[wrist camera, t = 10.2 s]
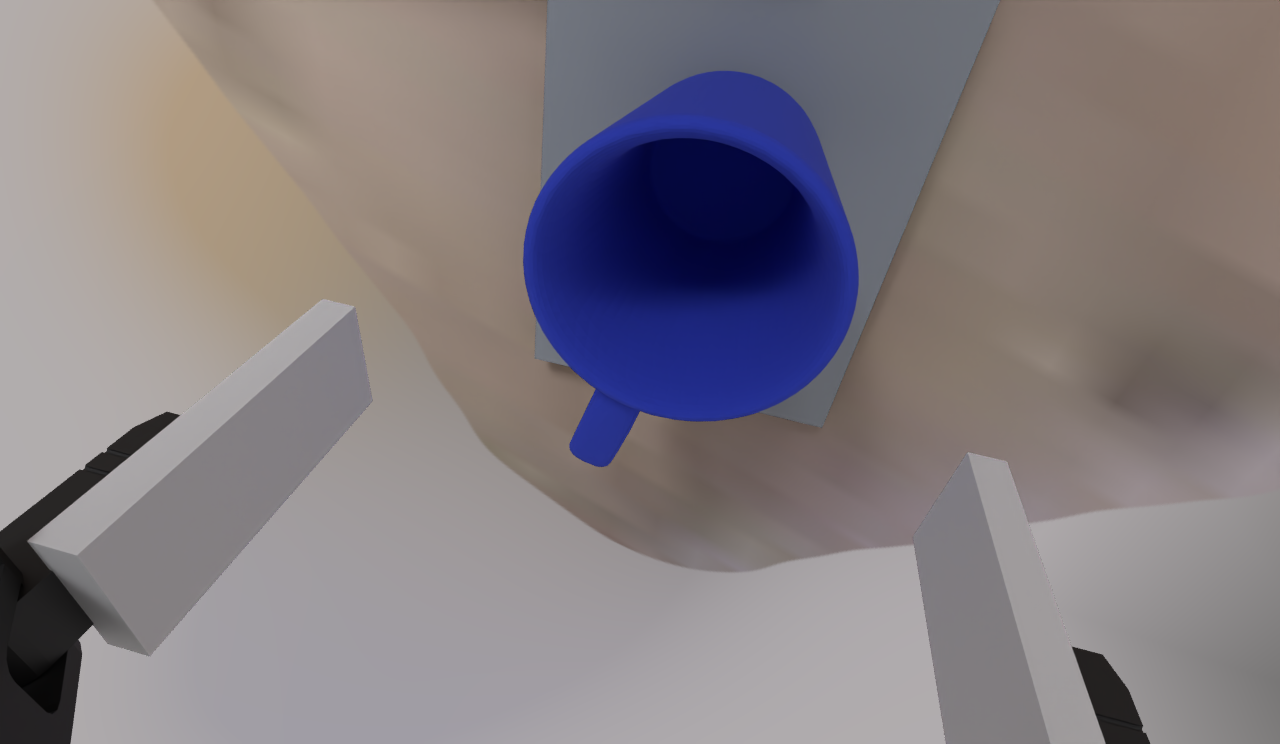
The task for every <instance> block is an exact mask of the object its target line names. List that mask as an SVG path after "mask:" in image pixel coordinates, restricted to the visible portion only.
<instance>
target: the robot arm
mask: <svg viewBox="0 0 1280 744" xmlns="http://www.w3.org/2000/svg"><path fill="white" fill-rule="evenodd" d="M371 402H372V395H371V390H370V385H369V379H368V374H367V368H366V363H365V357H364V352H363V347H362V341H361V336H360V331H359V325H358V320H357V314H356V309H355V307H354V306H351V305H346V304H342V303H337V302H334V301H329V300H325V299H322V300H321V301H319V302H318V303H317V304H316V305H315V306H313V307H312V308H311V309H310V310H309V311H307V312H306V313H305V314H304V315H302V316H301V317H300V318H299V319H297V320H296V321H295V322H294V323H293V324H291V325H290V326H289V327H288V328H286V329H285V330H284V331H283V332H282V333H280V334H279V335H278V336H277V337H276V338H274V339H273V340H272V341H271V342H269V343H268V344H267V345H266V346H264V347H263V348H262V349H261V350H260V351H258V352H257V353H256V354H255V355H254V356H252V357H251V358H250V359H249V360H247V361H246V362H245V363H244V364H243V365H241V366H240V367H239V368H238V369H237V370H235V371H234V372H233V373H232V374H230V375H229V376H228V377H227V378H225V379H224V380H223V381H222V382H221V383H219V384H218V385H217V386H216V387H214V388H213V389H212V390H211V391H210V392H208V393H207V394H206V395H205V396H203V397H202V398H201V399H200V400H199V401H197V402H196V403H195V404H194V405H193V406H191V407H190V408H189V409H188V410H186V411H185V412H184V413H183V414H181V415H178V414H174V413H170V412H165V413H164V414H161V415H159V416H157V417H155V418H153V419H151V420H148V421H146V422H144V423H142V424H140V425H138V426H136V427H134V428H132V429H131V430H130V431H128V432H127V433H126V434H125V435H123V436H122V437H121V438H120V439H118V440H117V441H116V442H115V443H113V444H112V445H110V446H109V447H108V448H107V451H106V452H105V453H103V452H102V453H100V454H99V455H98V456H96V457H95V458H94V459H92V460H91V461H90V462H89V463H87V464H86V466H85V469H84V470H78V471H77V472H76V473H75V474H73V475H72V476H71V477H69V478H68V479H67V480H66V481H64V482H63V483H62V484H61V485H59V486H58V487H57V488H55V489H54V490H53V491H52V492H50V493H49V494H48V495H46V496H45V497H44V498H43V499H41V500H40V501H39V502H37V503H36V504H35V505H34V506H32V507H31V508H30V509H28V510H27V511H26V512H25V513H23V514H22V515H21V516H20V517H18V518H17V519H16V520H14V521H13V522H12V523H10V524H9V525H8V526H7V527H5V528H4V529H3V530H1V531H0V744H70V742H71V735H72V728H73V720H74V712H75V704H76V697H77V689H78V682H79V674H80V667H81V659H82V651H81V644H80V642H79V640H78V639H79V638H80V637H81V636H82V635H83V634H84V633H85V632H86V631H87V630H88V629H89V628H90V627H91V626H92V625H93V626H94V627H95V628H96V629H97V631H98V632H99V633H100V634H101V636H102V637H103V638H104V640H105V641H106V642H107V643H108V644H111V645H114V646H117V647H121V648H124V649H127V650H130V651H134V652H137V653H141V654H144V655H147V656H150V655H151V654H152V653H153V652H154V651H155V650H156V648H157V647H158V646H159V645H160V644H161V643H162V642H163V641H164V639H165V638H166V637H167V636H168V635H169V634H170V633H171V631H172V630H173V629H174V628H175V627H176V626H177V625H178V623H179V622H180V621H181V620H182V619H183V618H184V617H185V615H186V614H187V613H188V612H189V611H190V610H191V609H192V607H193V606H194V605H195V604H196V603H197V602H198V601H199V599H200V598H201V597H202V596H203V595H204V594H205V593H206V591H207V590H208V589H209V588H210V587H211V586H212V584H213V583H214V582H215V581H216V580H217V579H218V578H219V576H220V575H221V574H222V573H223V572H224V571H225V570H226V568H227V567H228V566H229V565H230V564H231V563H232V561H233V560H234V559H235V558H236V557H237V556H238V555H239V553H240V552H241V551H242V550H243V549H244V548H245V547H246V546H247V544H248V543H249V542H250V541H251V540H252V539H253V537H254V536H255V535H256V534H257V533H258V532H259V531H260V529H261V528H262V527H263V526H264V525H265V524H266V523H267V521H268V520H269V519H270V518H271V517H272V516H273V515H274V513H275V512H276V511H277V510H278V509H279V508H280V507H281V505H282V504H283V503H284V502H285V501H286V500H287V499H288V497H289V496H290V495H291V494H292V493H293V492H294V490H295V489H296V488H297V487H298V486H299V485H300V484H301V483H302V481H303V480H304V479H305V478H306V477H307V476H308V475H309V473H310V472H311V471H312V470H313V469H314V467H315V466H316V465H317V464H318V463H319V462H320V461H321V459H322V458H323V457H324V456H325V455H326V454H327V453H328V452H329V450H330V449H331V448H332V447H333V446H334V445H335V444H336V442H337V441H338V440H339V439H340V438H341V437H342V436H343V434H344V433H345V432H346V431H347V430H348V429H349V428H350V426H351V425H352V424H353V423H354V422H355V421H356V420H357V418H358V417H359V416H360V415H361V414H362V413H363V411H364V410H365V409H366V408H367V407H368V406H369V405H370V403H371ZM913 541H914V548H915V554H916V560H917V566H918V572H919V578H920V585H921V591H922V597H923V603H924V610H925V616H926V622H927V629H928V635H929V641H930V647H931V653H932V660H933V666H934V672H935V679H936V685H937V691H938V697H939V703H940V710H941V716H942V722H943V728H944V735H945V740H946V744H1150V742H1149V740H1148V737H1147V735H1146V733H1143V731H1142V727H1143V725H1142V722H1141V720H1140V717H1139V715H1138V712H1137V710H1136V707H1135V705H1134V702H1133V700H1132V698H1131V695H1130V692H1129V690H1128V689H1127V687H1126V686H1125V684H1124V683H1123V682H1122V680H1121V679H1120V678H1119V676H1118V675H1117V674H1116V672H1115V671H1114V670H1113V668H1112V667H1111V665H1110V664H1109V663H1108V661H1107V660H1106V659H1105V657H1104V656H1103V655H1102V654H1098V653H1094V652H1090V651H1087V650H1083V649H1078V648H1075V647H1072V646H1071V644H1070V640H1069V637H1068V635H1067V632H1066V629H1065V626H1064V623H1063V620H1062V617H1061V615H1060V612H1059V609H1058V606H1057V603H1056V600H1055V597H1054V595H1053V592H1052V589H1051V586H1050V583H1049V580H1048V577H1047V575H1046V572H1045V569H1044V566H1043V563H1042V560H1041V557H1040V554H1039V552H1038V549H1037V546H1036V543H1035V540H1034V537H1033V534H1032V532H1031V529H1030V526H1029V523H1028V520H1027V517H1026V514H1025V512H1024V509H1023V506H1022V503H1021V500H1020V497H1019V494H1018V491H1017V489H1016V486H1015V483H1014V480H1013V477H1012V474H1011V471H1010V469H1009V466H1008V463H1007V461H1003V460H999V459H995V458H991V457H986V456H982V455H978V454H974V453H970V452H967V454H966V455H965V457H964V458H963V460H962V462H961V463H960V465H959V466H958V468H957V469H956V471H955V472H954V474H953V475H952V477H951V479H950V480H949V482H948V483H947V485H946V486H945V488H944V489H943V491H942V493H941V494H940V496H939V497H938V499H937V500H936V502H935V503H934V505H933V506H932V508H931V510H930V511H929V513H928V514H927V516H926V517H925V519H924V520H923V522H922V523H921V525H920V527H919V528H918V530H917V531H916V533H915V534H914V536H913Z"/></svg>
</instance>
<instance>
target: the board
mask: <svg viewBox="0 0 1280 744" xmlns="http://www.w3.org/2000/svg"><path fill="white" fill-rule="evenodd" d="M999 2H1000V0H548V5H547V32H546V60H545V87H544V115H543V142H542V170H541V190H542V188H543V186H544V185H545V183H546V182H547V180H548V179H549V177H550V176H551V175H552V173H553V172H554V171H555V170H556V169H557V167H558V166H559V165H560V164H561V163H562V162H563V161H564V160H565V159H566V158H567V157H568V156H569V155H570V154H571V153H572V152H573V151H574V150H576V149H577V148H578V147H579V146H581V145H582V144H583V143H585V142H586V141H588V140H589V139H591V138H592V137H594V136H595V135H597V134H598V133H600V132H601V131H603V130H604V129H606V128H608V127H609V126H611V125H612V124H614V123H615V122H617V121H618V120H620V119H621V118H623V117H624V116H626V115H627V114H629V113H630V112H632V111H633V110H635V109H636V108H638V107H640V106H641V105H643V104H644V103H646V102H647V101H649V100H650V99H652V98H653V97H655V96H656V95H658V94H659V93H661V92H662V91H664V90H665V89H667V88H668V87H670V86H672V85H674V84H675V83H677V82H679V81H682V80H684V79H686V78H689V77H691V76H694V75H697V74H701V73H706V72H713V71H736V72H743V73H748V74H752V75H755V76H758V77H761V78H763V79H765V80H767V81H769V82H772V83H773V84H775V85H777V86H778V87H780V88H781V89H783V90H784V91H785V92H787V93H788V94H789V95H790V96H791V97H792V98H793V99H794V100H795V101H796V102H797V103H798V104H799V105H800V106H801V107H802V109H803V110H804V111H805V113H806V114H807V116H808V117H809V119H810V121H811V122H812V124H813V126H814V128H815V130H816V133H817V135H818V138H819V140H820V143H821V146H822V149H823V152H824V154H825V157H826V160H827V163H828V166H829V169H830V171H831V174H832V177H833V180H834V183H835V186H836V188H837V191H838V194H839V197H840V200H841V203H842V205H843V208H844V211H845V214H846V217H847V220H848V222H849V225H850V228H851V231H852V234H853V238H854V242H855V246H856V251H857V258H858V269H859V287H858V295H857V301H856V307H855V311H854V315H853V318H852V321H851V324H850V327H849V329H848V332H847V334H846V336H845V338H844V340H843V342H842V344H841V345H840V347H839V349H838V351H837V352H836V354H835V355H834V356H833V358H832V359H831V361H830V362H829V363H828V365H827V366H826V367H825V368H824V369H823V370H822V372H821V373H820V374H819V375H818V376H817V377H816V378H814V379H813V380H812V381H811V382H810V383H809V384H808V385H807V386H805V387H804V388H803V389H801V390H800V391H799V392H797V393H796V394H795V395H793V396H791V397H789V398H788V399H786V400H784V401H783V402H781V403H779V404H777V405H775V406H772V407H770V408H768V409H765V410H763V411H760V412H759V413H763V414H767V415H771V416H775V417H779V418H783V419H787V420H792V421H796V422H800V423H804V424H808V425H812V426H816V427H821V428H822V427H823V424H824V422H825V420H826V417H827V415H828V412H829V410H830V408H831V405H832V403H833V400H834V398H835V396H836V393H837V391H838V388H839V386H840V384H841V381H842V379H843V376H844V374H845V372H846V369H847V367H848V364H849V362H850V360H851V357H852V355H853V352H854V350H855V348H856V345H857V343H858V340H859V338H860V336H861V333H862V331H863V328H864V326H865V324H866V321H867V319H868V316H869V314H870V312H871V309H872V307H873V304H874V302H875V300H876V297H877V295H878V292H879V290H880V288H881V285H882V283H883V280H884V278H885V276H886V273H887V271H888V268H889V266H890V264H891V261H892V259H893V256H894V254H895V252H896V249H897V247H898V244H899V242H900V240H901V237H902V235H903V232H904V230H905V228H906V225H907V223H908V220H909V218H910V216H911V213H912V211H913V208H914V206H915V204H916V201H917V199H918V196H919V194H920V192H921V189H922V187H923V184H924V182H925V180H926V177H927V175H928V172H929V170H930V168H931V165H932V163H933V160H934V158H935V156H936V153H937V151H938V148H939V146H940V144H941V141H942V139H943V136H944V134H945V132H946V129H947V127H948V124H949V122H950V120H951V117H952V115H953V112H954V110H955V108H956V105H957V103H958V100H959V98H960V96H961V93H962V91H963V88H964V86H965V84H966V81H967V79H968V76H969V74H970V72H971V69H972V67H973V64H974V62H975V60H976V57H977V55H978V52H979V50H980V48H981V45H982V43H983V40H984V38H985V36H986V33H987V31H988V28H989V26H990V24H991V21H992V19H993V16H994V14H995V12H996V9H997V7H998V4H999ZM535 359H539V360H543V361H548V362H552V363H556V364H560V365H564V366H568V367H569V365H568V364H567V363H566V362H565V361H564V360H563V359H562V358H561V356H560V355H559V354H558V353H557V352H556V350H555V349H554V348H553V346H552V345H551V343H550V342H549V341H548V339H547V337H546V336H545V334H544V333H543V331H542V329H541V327H540V325H539V323H538V321H537V319H536V335H535Z"/></svg>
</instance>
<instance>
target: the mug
mask: <svg viewBox="0 0 1280 744" xmlns="http://www.w3.org/2000/svg"><path fill="white" fill-rule="evenodd" d="M523 266H524V277H525V284H526V288H527V292H528V296H529V300H530V303H531V306H532V309H533V311H534V314H535V316H536V319H537V321H538V323H539V325H540V327H541V329H542V331H543V333H544V334H545V336H546V337H547V339H548V341H549V342H550V343H551V345H552V346H553V348H554V349H555V350H556V352H557V353H558V354H559V355H560V356H561V358H562V359H563V360H564V361H565V362H566V363H567V364H568V365H569V367H570V368H571V369H572V370H573V371H574V372H576V373H577V374H578V375H579V376H580V377H581V378H583V379H584V380H585V381H586V382H587V383H589V384H590V385H591V386H593V387H594V388H596V390H595V392H594V394H593V396H592V398H591V400H590V402H589V404H588V406H587V408H586V410H585V413H584V415H583V417H582V419H581V421H580V423H579V425H578V427H577V429H576V431H575V433H574V435H573V437H572V440H571V442H570V451H571V452H572V454H573V455H575V456H576V457H577V458H579V459H581V460H582V461H584V462H587V463H589V464H592V465H594V466H598V467H604V466H607V465H608V464H610V463H611V461H612V460H613V458H614V457H615V455H616V453H617V452H618V450H619V448H620V447H621V445H622V443H623V442H624V440H625V438H626V436H627V435H628V433H629V431H630V430H631V428H632V426H633V424H634V422H635V420H636V418H637V416H638V414H639V412H640V411H642V412H645V413H648V414H651V415H655V416H659V417H664V418H669V419H674V420H683V421H719V420H727V419H734V418H739V417H744V416H748V415H751V414H754V413H758V412H760V411H763V410H765V409H768V408H770V407H772V406H775V405H777V404H779V403H781V402H783V401H784V400H786V399H788V398H789V397H791V396H793V395H795V394H796V393H797V392H799V391H800V390H801V389H803V388H804V387H805V386H807V385H808V384H809V383H810V382H811V381H812V380H813V379H814V378H816V377H817V376H818V375H819V374H820V373H821V372H822V370H823V369H824V368H825V367H826V366H827V365H828V363H829V362H830V361H831V359H832V358H833V356H834V355H835V354H836V352H837V351H838V349H839V347H840V345H841V344H842V342H843V340H844V338H845V336H846V334H847V332H848V329H849V327H850V324H851V321H852V318H853V315H854V311H855V307H856V301H857V295H858V287H859V269H858V258H857V251H856V246H855V242H854V238H853V234H852V231H851V228H850V225H849V222H848V220H847V217H846V214H845V211H844V208H843V205H842V203H841V200H840V197H839V194H838V191H837V188H836V186H835V183H834V180H833V177H832V174H831V171H830V169H829V166H828V163H827V160H826V157H825V154H824V152H823V149H822V146H821V143H820V140H819V138H818V135H817V133H816V130H815V128H814V126H813V124H812V122H811V121H810V119H809V117H808V116H807V114H806V113H805V111H804V110H803V109H802V107H801V106H800V105H799V104H798V103H797V102H796V101H795V100H794V99H793V98H792V97H791V96H790V95H789V94H788V93H787V92H785V91H784V90H783V89H781V88H780V87H778V86H777V85H775V84H773V83H772V82H769V81H767V80H765V79H763V78H761V77H758V76H755V75H752V74H748V73H743V72H736V71H713V72H706V73H701V74H697V75H694V76H691V77H689V78H686V79H684V80H682V81H679V82H677V83H675V84H674V85H672V86H670V87H668V88H667V89H665V90H664V91H662V92H661V93H659V94H658V95H656V96H655V97H653V98H652V99H650V100H649V101H647V102H646V103H644V104H643V105H641V106H640V107H638V108H636V109H635V110H633V111H632V112H630V113H629V114H627V115H626V116H624V117H623V118H621V119H620V120H618V121H617V122H615V123H614V124H612V125H611V126H609V127H608V128H606V129H604V130H603V131H601V132H600V133H598V134H597V135H595V136H594V137H592V138H591V139H589V140H588V141H586V142H585V143H583V144H582V145H581V146H579V147H578V148H577V149H576V150H574V151H573V152H572V153H571V154H570V155H569V156H568V157H567V158H566V159H565V160H564V161H563V162H562V163H561V164H560V165H559V166H558V167H557V169H556V170H555V171H554V172H553V173H552V175H551V176H550V177H549V179H548V180H547V182H546V183H545V185H544V186H543V188H542V190H541V192H540V194H539V196H538V198H537V200H536V201H535V204H534V206H533V209H532V212H531V214H530V217H529V221H528V225H527V229H526V235H525V241H524V256H523Z"/></svg>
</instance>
